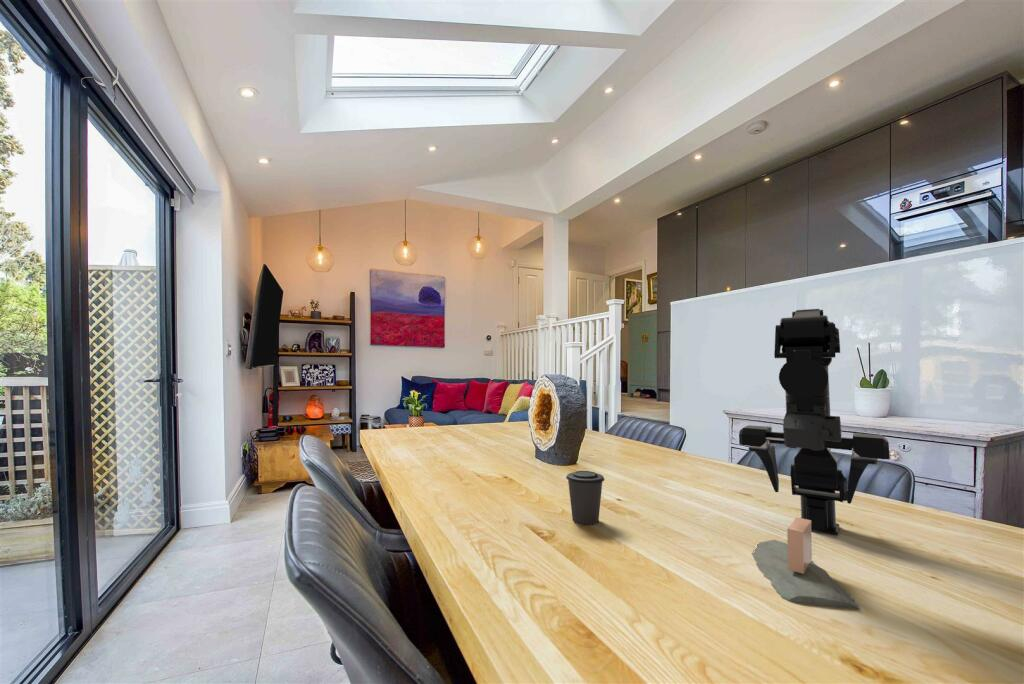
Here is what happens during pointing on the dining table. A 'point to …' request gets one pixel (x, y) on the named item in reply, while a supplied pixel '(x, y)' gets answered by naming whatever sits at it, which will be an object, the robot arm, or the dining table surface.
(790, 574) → the stone slab
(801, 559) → the block
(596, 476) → the coffee cup
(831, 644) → the dining table surface
